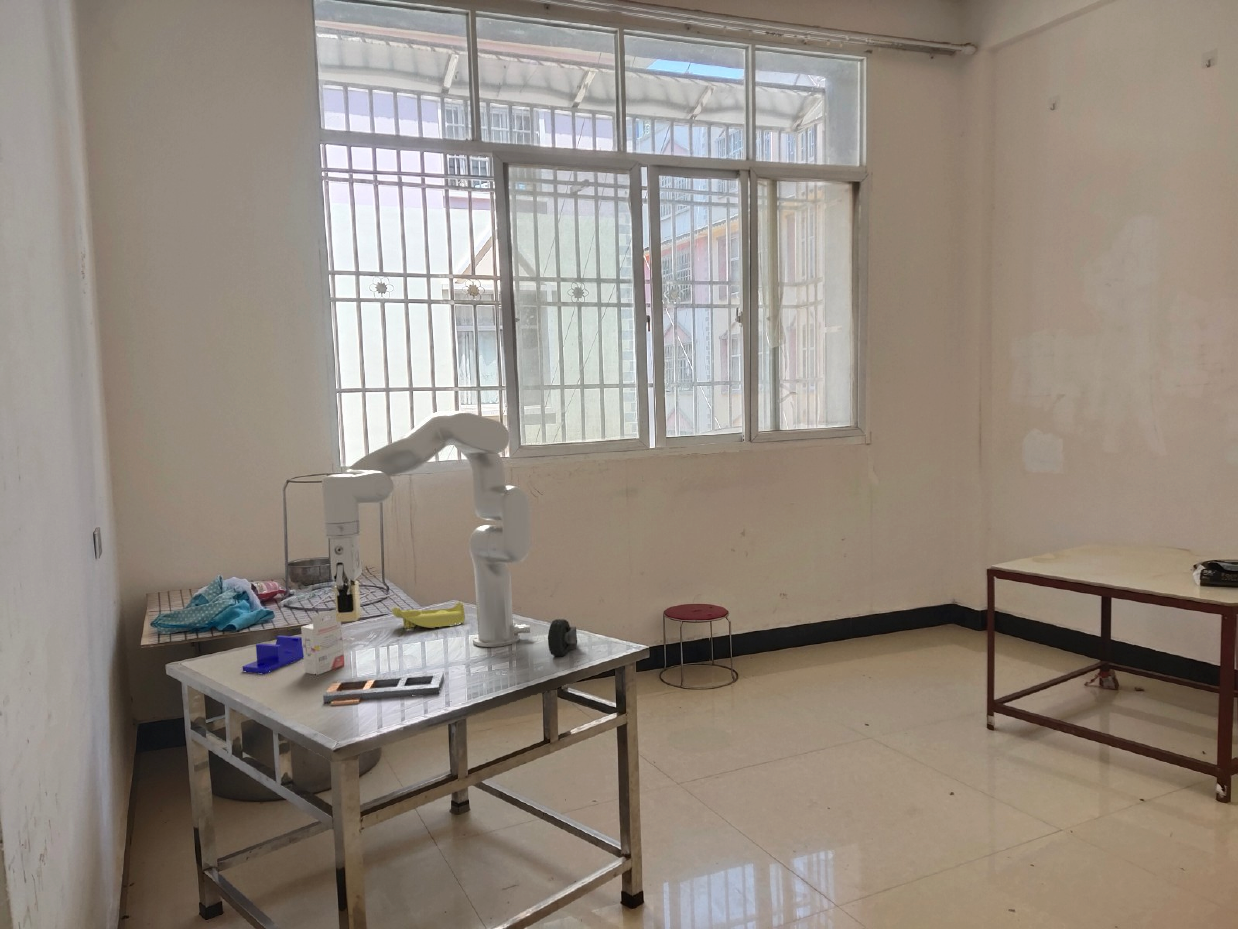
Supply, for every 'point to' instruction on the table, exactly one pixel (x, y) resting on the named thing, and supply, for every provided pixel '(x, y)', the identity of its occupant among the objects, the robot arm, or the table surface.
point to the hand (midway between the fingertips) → (348, 608)
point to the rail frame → (364, 688)
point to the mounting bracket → (276, 654)
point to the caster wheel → (561, 637)
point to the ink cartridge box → (322, 644)
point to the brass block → (356, 604)
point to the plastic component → (431, 617)
